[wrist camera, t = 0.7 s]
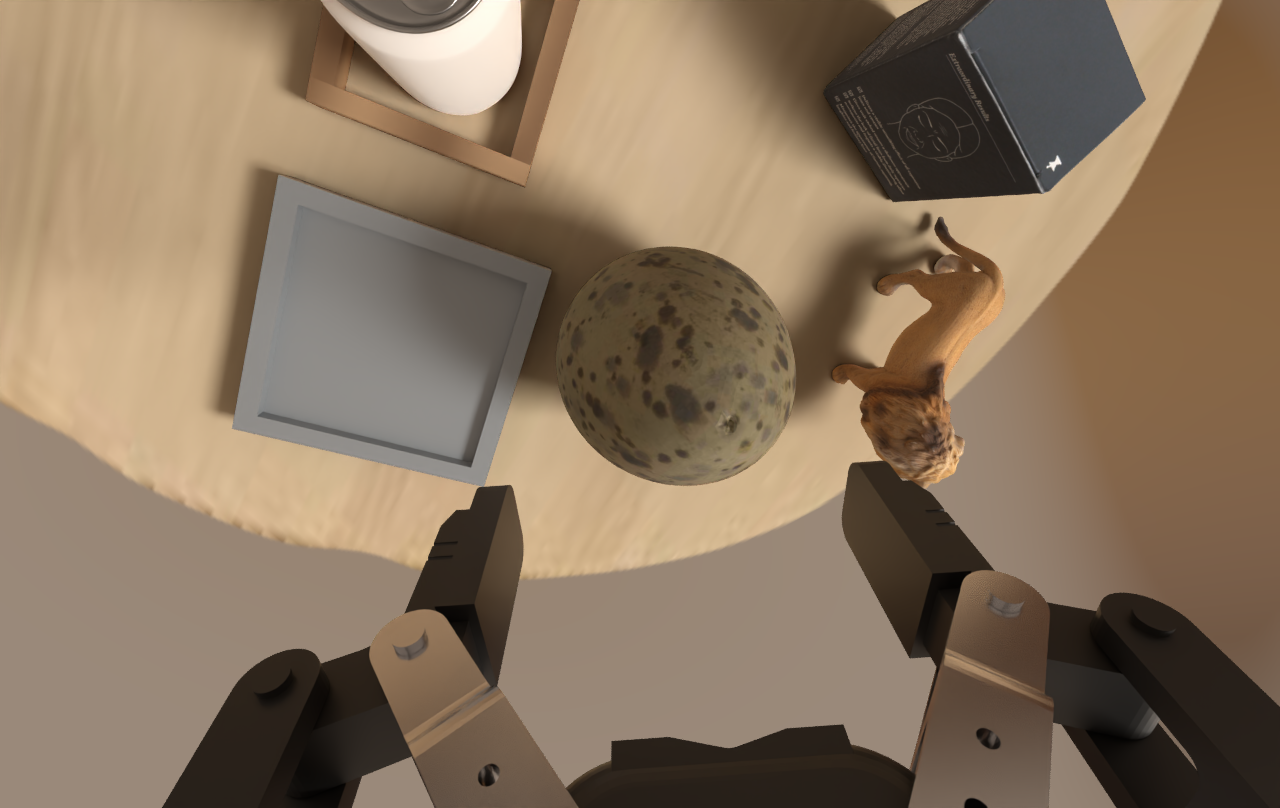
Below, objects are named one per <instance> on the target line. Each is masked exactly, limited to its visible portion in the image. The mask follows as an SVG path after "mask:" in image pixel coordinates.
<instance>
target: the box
mask: <svg viewBox="0 0 1280 808" xmlns="http://www.w3.org/2000/svg"><path fill="white" fill-rule="evenodd" d="M823 93H824V96H825V97H826V99H827V101H828V102H829V104H830V105H831V107H832V109H833V110H834V112H835V113H836V115H837V116H838V118H839V119H840V121H841V122H842V124H843V126H844V127H845V129H846V130H847V132H848V134H849V135H850V137H851V138H852V140H853V141H854V143H855V144H856V146H857V147H858V149H859V151H860V152H861V154H862V155H863V157H864V158H865V160H866V162H867V163H868V165H869V166H870V168H871V169H872V171H873V172H874V174H875V175H876V177H877V179H878V180H879V182H880V183H881V185H882V186H883V188H884V189H885V191H886V193H887V194H888V196H889V197H890V199H891V200H892V202H902V201H919V200H935V199H937V200H938V199H953V198H971V197H988V196H1003V195H1022V194H1033V193H1040V194H1043V193H1045V192H1048V191H1050V190H1051V189H1052V188H1053V187H1054V186H1055V185H1056V184H1057V183H1058V182H1059V181H1060V180H1061V179H1062V178H1063V177H1064V176H1065V175H1066V174H1067V173H1069V172H1070V171H1071V170H1072V169H1073V168H1074V167H1075V166H1076V165H1077V164H1078V163H1079V162H1080V161H1082V160H1083V159H1084V158H1085V157H1086V156H1087V155H1088V154H1089V153H1090V152H1091V151H1092V150H1094V149H1095V148H1096V147H1097V146H1098V145H1099V144H1100V143H1101V142H1102V141H1103V140H1104V139H1106V138H1107V137H1108V136H1109V135H1110V134H1111V133H1112V132H1113V131H1114V130H1115V129H1117V128H1118V127H1119V126H1120V125H1121V124H1122V123H1123V122H1124V121H1125V120H1126V119H1127V118H1128V117H1129V116H1130V115H1131V114H1132V113H1133V112H1134V111H1135V110H1136V109H1137V108H1138V107H1139V106H1140V105H1141V104H1142V103H1143V102H1144V101H1145V100H1146V98H1145V96H1144V93H1143V91H1142V89H1141V86H1140V84H1139V82H1138V79H1137V77H1136V74H1135V72H1134V69H1133V67H1132V64H1131V62H1130V59H1129V57H1128V55H1127V52H1126V50H1125V47H1124V45H1123V43H1122V40H1121V38H1120V35H1119V33H1118V30H1117V27H1116V25H1115V23H1114V20H1113V18H1112V15H1111V13H1110V11H1109V8H1108V6H1107V3H1106V1H1105V0H929V1H927V2H925V3H923V4H922V5H920V6H918V7H916V8H914V9H913V10H911V11H909V12H907V13H905V14H903V15H902V16H900V17H898V18H897V19H896V20H895V21H894V22H893V23H892V24H891V25H890V26H889V27H888V28H887V29H886V30H885V31H883V33H882V34H881V35H879V36H878V37H877V38H876V39H875V40H874V41H873V42H872V43H871V44H870V45H869V46H868V47H867V48H866V49H865V50H864V51H863V52H862V53H861V54H860V55H859V56H858V57H857V58H856V59H854V60H853V61H852V62H851V63H850V64H849V65H848V66H847V67H846V68H845V69H844V70H843V71H842V72H841V73H840V74H839V75H838V76H837V77H836V78H835V79H834V80H832V81H831V83H830V84H829V85H827V86H826V88H825V89H824V92H823Z"/></svg>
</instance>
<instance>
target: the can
mask: <svg viewBox="0 0 1280 808" xmlns="http://www.w3.org/2000/svg"><path fill="white" fill-rule="evenodd" d="M321 2H322V3H323V5H324V6H325V7H326V9H327V10H328V11H329V12H330V14H331V15H332V16H333V17H334V18H335V20H336V21H337V22H338V23H339V24H340V25H341V26H342V27H343V28H344V29H345V31H346V32H347V33H348V34H349V35H350V36H351V37H352V38H353V39H354V40H355V41H356V42H357V43H358V44H359V45H360V46H361V47H362V48H363V49H364V50H365V51H366V52H367V53H368V54H369V55H370V56H371V57H372V58H373V59H374V60H375V61H376V62H377V63H378V64H379V65H380V66H381V67H382V68H383V69H384V70H385V71H386V72H387V73H388V74H389V75H390V76H391V77H392V78H393V79H394V80H395V81H396V82H397V83H398V84H399V85H400V86H401V87H402V88H403V89H404V90H405V91H407V92H408V93H409V94H410V95H411V96H412V97H414V98H415V99H416V100H418V101H419V102H421V103H422V104H424V105H426V106H428V107H430V108H432V109H434V110H437V111H439V112H443V113H447V114H452V115H472V114H476V113H479V112H482V111H484V110H486V109H488V108H489V107H491V106H492V105H494V104H495V103H496V102H498V101H499V100H500V99H501V98H502V97H503V96H504V95H505V94H506V93H507V92H508V90H509V89H510V88H511V86H512V84H513V82H514V80H515V78H516V75H517V73H518V69H519V66H520V61H521V51H522V30H521V3H520V0H321Z"/></svg>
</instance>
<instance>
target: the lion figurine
mask: <svg viewBox="0 0 1280 808" xmlns="http://www.w3.org/2000/svg"><path fill="white" fill-rule="evenodd" d="M934 230H935V232H936V235H937V236H938V238H939V239H940V241H941V242H942V243H943V244H944V245H946V246H947V247H948V248H950V249H951V250H952V251H953V252H955V253H957V254H958V255H960V256H961V257H959V256H956V255H953V254H950V255H946V256H943V257H941V258H940V259H939V260H938V261H937V263H936V265H935V267H934V270H935V273H936V274H932V275H931V274H926V273H924V272H923V271H921V270H919V269H915V270H911V271H908V272H905V273H900V274H891V275H888V276H885V277H884V278H882V279H881V280H880V281H879V282H878V285H877V290H878V292H880V293H881V294H883V295H886V296H890V295H892V294H893V293H894V292H895V291H896V289H897V288H898V287H899V286H901V285H905V284H910V285H912V286H913V287H914V288H915V289H916V290H917V292H918V293H919V294H920V295H921V296H922V297H924V298H926V299H927V300H929V301H930V302H931V303H932V307H931V308H930V310H929V311H928V312H927V313H926V314H924V315H922V316H921V317H920V318H918V319H917V320H916V321H914V322H913V323H912V324H911V325H909V326H908V327H907V328H906V329H905V330H904V331H903V332H902V333H901V335H900V336H899V337H898V338H897V340H896V341H895V343H894V344H893V346H892V348H891V350H890V352H889V355H888V357H887V360H886V362H885V365H884V367H879V368H873V369H867V368H863V367H859V366H857V365H853V364H843V365H840V366H838V367H836V368H835V369H834V370H833V372H832V377H833V379H834V381H835V382H837V383H841V384H845V383H846V382H847V380H849V379H850V380H851V381H852V382H853V384H854V385H856V386H857V387H858V388H859V389H861V390H863V391H864V392H866V393H865V394H864V396H863V400H862V401H861V404H860V410H861V412H862V414H863V415H862V418H861V424H862V426H863V427H864V429H865V432H866V433H867V435H868V437H869V438H870V440H871V441H872V444H873V447H874V449H875V452H876V454H877V455H878V456H879V457H880V458H881V459H882V460H883V461H887V462H888V463H889V464H890V465H891V467H892V468H893V469H894V470H895V472H896V473H897V474H898V476H899V477H901V478H903V479H907V480H912V481H913V482H915V483H916V484H918V485H919V486H921V487H922V488H924V489H926V488H927V487H928V486H929V485H930V483H938V482H939V481H940V480H941V479H942V478H946V477H948V476H949V475H952V474H953V473H954V472H955V470H956V466H957V463H958V462H959V456H961V455H962V454H963V447H964V445H965V441H964V439H963V438H961V437H958V436H956V435H955V433H954V428H953V427H952V425H951V423H950V413H951V407H950V405H949V404H948V402H947V401H945V399H944V385H945V382H946V380H947V377H948V375H949V373H950V372H951V370H952V368H953V367H954V365H955V364H956V363H957V361H958V360H959V358H960V356H961V354H962V352H963V350H964V349H965V347H966V346H967V345H968V343H969V342H970V341H971V340H972V339H973V337H974V336H975V335H977V334H978V333H979V332H980V331H981V330H983V329H984V328H985V327H987V326H988V325H989V324H990V323H991V322H992V321H993V320H994V319H995V318H996V317H997V316H998V314H999V313H1000V311H1001V309H1002V306H1003V303H1004V300H1005V291H1004V289H1003V277H1002V274H1001V271H1000V270H999V268H998V267H997V265H996V264H995V263H994V262H993V261H991V260H990V259H989V258H987V257H985V256H983V255H982V254H980V253H977V252H975V251H973V250H971V249H969V248H967V247H965V246H963V245H961V244H959V243H957V242H956V241H955V240H954V239H953V238H952V237H951V236H950V234H949V232H948V228H947V226H946V225H945V223H944V219H943V217H939V218H938V220H937V222H936V224H935V228H934ZM962 257H963V258H962ZM974 265H975V266H976V267H977V268H979V269H980V270H981V271H979V272H974ZM953 269H954V271H955V272H952V270H953Z"/></svg>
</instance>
